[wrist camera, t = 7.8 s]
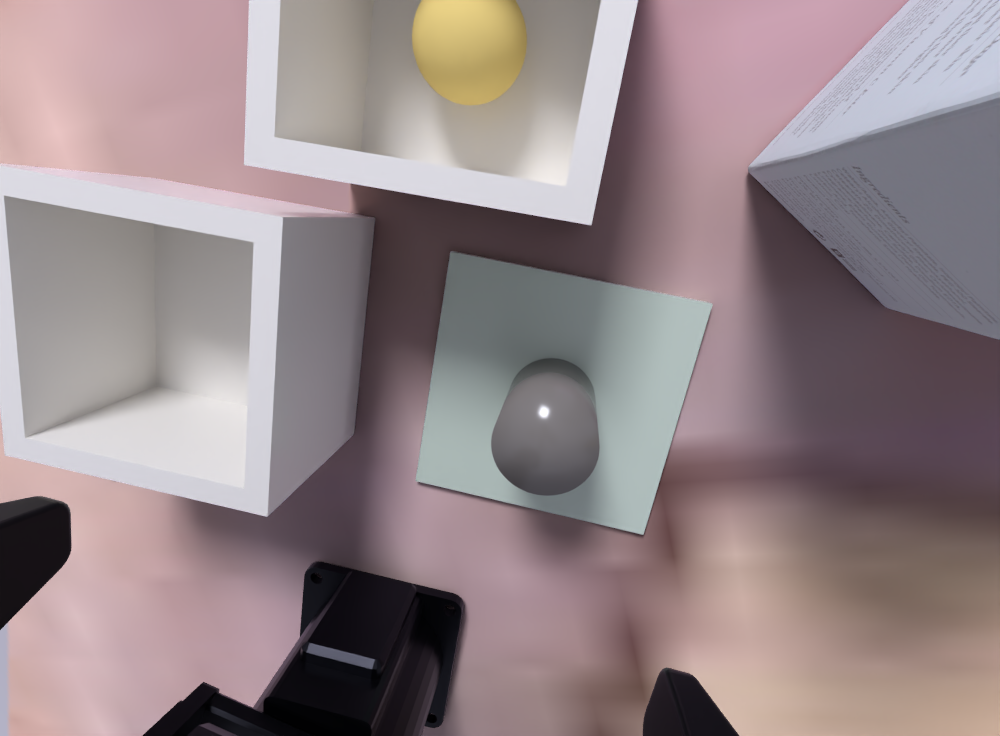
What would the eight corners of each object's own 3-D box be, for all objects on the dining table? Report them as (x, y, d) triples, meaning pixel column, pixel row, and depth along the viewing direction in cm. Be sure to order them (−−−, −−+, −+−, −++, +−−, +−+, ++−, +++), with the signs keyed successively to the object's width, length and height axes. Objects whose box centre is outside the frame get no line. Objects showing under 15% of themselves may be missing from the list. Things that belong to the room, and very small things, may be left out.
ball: (521, 121, 16) (509, 101, 13) (422, 106, 16) (389, 82, 14) (540, 6, 15) (531, -43, 12) (436, -9, 16) (403, -60, 13)
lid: (706, 300, 18) (749, 329, 14) (641, 523, 21) (658, 611, 16) (455, 250, 19) (415, 261, 14) (421, 471, 21) (378, 541, 17)
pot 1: (354, 434, 21) (267, 517, 15) (158, 391, 21) (4, 455, 16) (375, 217, 18) (282, 217, 13) (156, 178, 19) (-25, 160, 13)
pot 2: (587, 222, 18) (591, 225, 12) (349, 181, 18) (243, 164, 13) (647, -70, 15) (688, -243, 10) (373, -104, 16) (257, -284, 10)
